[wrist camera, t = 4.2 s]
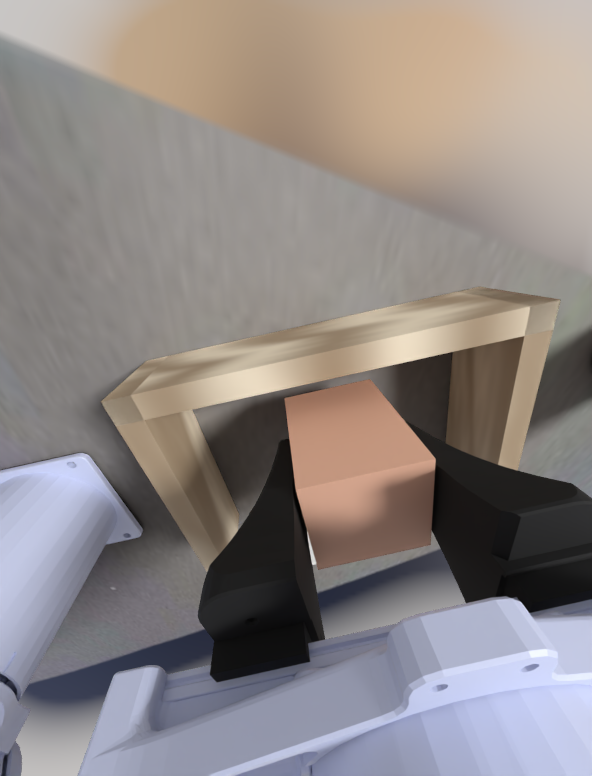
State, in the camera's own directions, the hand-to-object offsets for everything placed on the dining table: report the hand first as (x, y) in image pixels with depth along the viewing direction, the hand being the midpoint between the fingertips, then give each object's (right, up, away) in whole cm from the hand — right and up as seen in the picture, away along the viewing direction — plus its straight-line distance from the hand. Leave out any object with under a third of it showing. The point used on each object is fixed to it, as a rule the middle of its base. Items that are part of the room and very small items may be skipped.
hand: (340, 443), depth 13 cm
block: (0, +1, +1) cm, 2 cm away
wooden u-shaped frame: (0, 0, +4) cm, 4 cm away
